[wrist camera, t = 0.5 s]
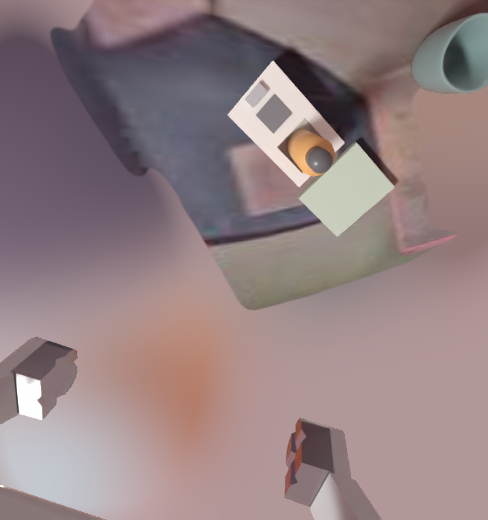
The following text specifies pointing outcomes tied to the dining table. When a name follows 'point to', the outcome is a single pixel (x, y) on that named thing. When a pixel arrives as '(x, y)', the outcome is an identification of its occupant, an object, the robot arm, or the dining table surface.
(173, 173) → the dining table surface
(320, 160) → the orange capped bottle
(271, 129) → the white bottle holder
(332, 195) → the mat
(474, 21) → the cup
